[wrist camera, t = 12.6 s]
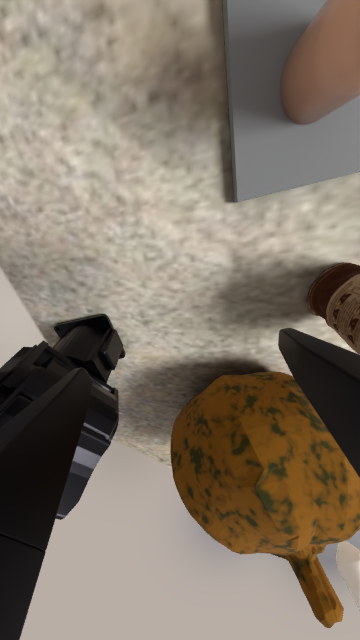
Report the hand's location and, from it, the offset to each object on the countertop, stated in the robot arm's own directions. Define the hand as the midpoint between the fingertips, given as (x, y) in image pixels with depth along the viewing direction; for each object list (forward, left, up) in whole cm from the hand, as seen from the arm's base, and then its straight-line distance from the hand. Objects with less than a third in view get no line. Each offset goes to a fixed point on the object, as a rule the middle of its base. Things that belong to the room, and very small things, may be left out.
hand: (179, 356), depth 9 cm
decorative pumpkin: (+5, -22, -13) cm, 26 cm away
